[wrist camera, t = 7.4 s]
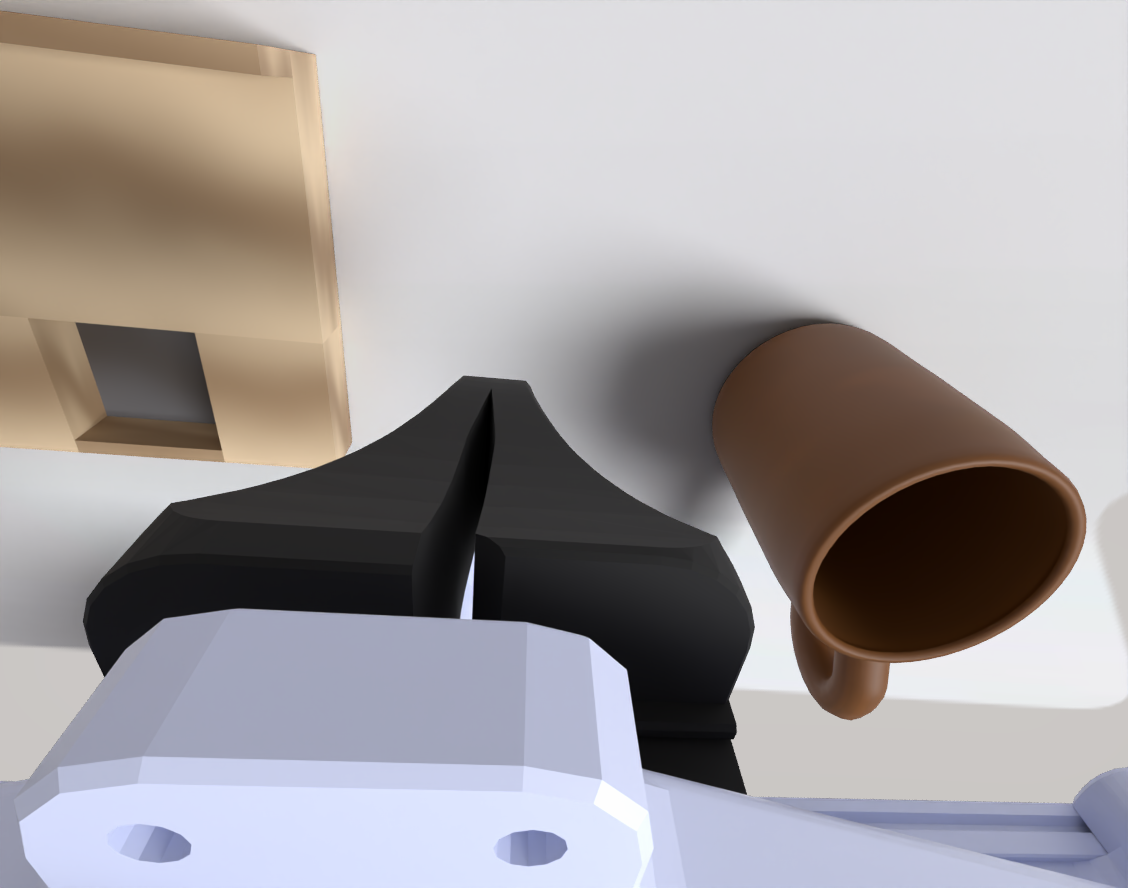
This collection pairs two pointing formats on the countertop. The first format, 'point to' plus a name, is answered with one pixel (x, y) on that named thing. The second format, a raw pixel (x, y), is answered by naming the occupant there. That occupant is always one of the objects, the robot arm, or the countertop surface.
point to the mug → (887, 507)
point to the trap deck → (165, 248)
